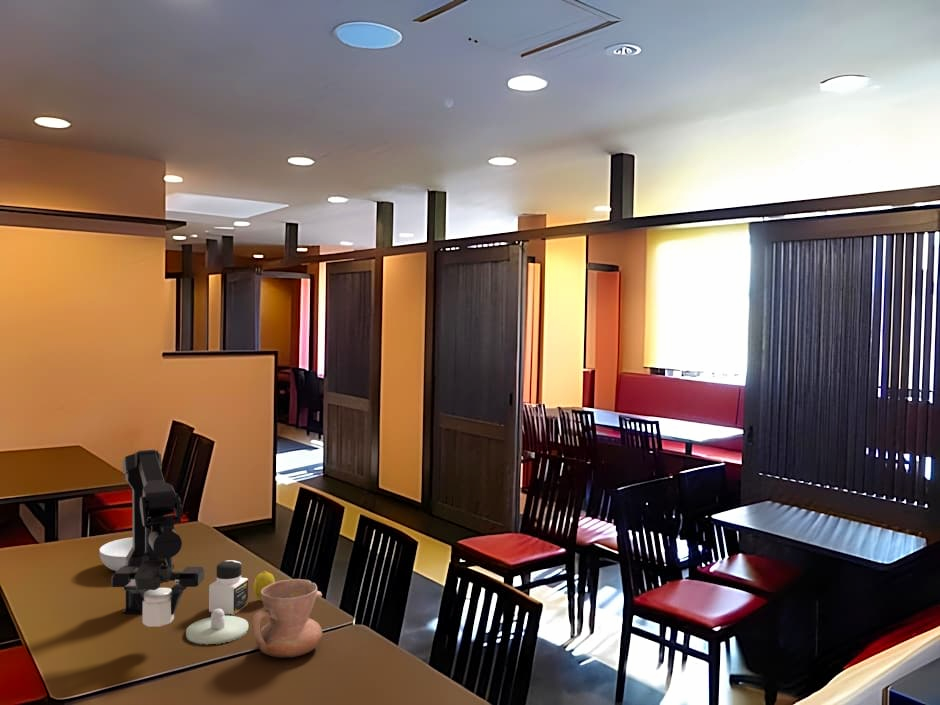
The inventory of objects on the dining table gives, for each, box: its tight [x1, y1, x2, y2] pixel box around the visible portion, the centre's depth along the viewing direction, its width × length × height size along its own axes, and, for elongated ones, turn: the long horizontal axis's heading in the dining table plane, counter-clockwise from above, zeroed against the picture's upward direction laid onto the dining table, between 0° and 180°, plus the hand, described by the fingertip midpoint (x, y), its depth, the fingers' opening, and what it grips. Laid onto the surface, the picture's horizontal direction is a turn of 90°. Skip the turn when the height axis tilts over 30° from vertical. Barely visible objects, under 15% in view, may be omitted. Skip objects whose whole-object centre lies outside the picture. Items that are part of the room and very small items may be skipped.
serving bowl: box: [99, 536, 133, 572], centre depth 213 cm, size 21×21×7 cm
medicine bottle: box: [208, 559, 249, 616], centre depth 185 cm, size 7×7×12 cm
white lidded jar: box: [141, 587, 175, 628], centre depth 162 cm, size 6×6×6 cm
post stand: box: [185, 609, 249, 646], centre depth 171 cm, size 14×14×6 cm
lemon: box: [253, 570, 276, 600], centre depth 190 cm, size 6×6×8 cm
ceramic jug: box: [251, 578, 323, 659], centre depth 162 cm, size 18×14×14 cm
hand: (158, 614), depth 162 cm, fingers closed on white lidded jar, 6 cm apart
